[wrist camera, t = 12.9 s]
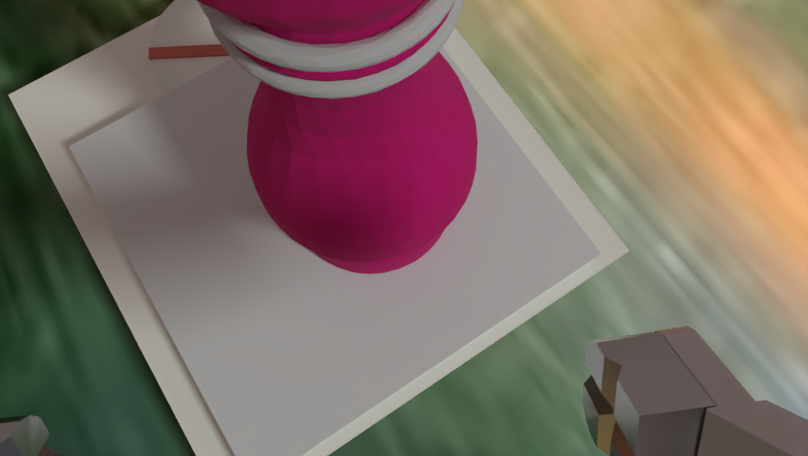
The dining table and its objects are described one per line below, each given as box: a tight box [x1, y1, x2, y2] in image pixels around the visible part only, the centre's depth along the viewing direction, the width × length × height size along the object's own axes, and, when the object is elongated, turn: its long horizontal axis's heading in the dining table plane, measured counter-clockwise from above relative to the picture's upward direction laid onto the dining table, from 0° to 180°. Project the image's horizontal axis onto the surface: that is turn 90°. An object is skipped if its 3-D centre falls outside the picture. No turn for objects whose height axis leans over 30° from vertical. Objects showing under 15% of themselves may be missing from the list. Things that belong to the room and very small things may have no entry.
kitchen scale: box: [8, 0, 629, 456], centre depth 26 cm, size 20×18×4 cm
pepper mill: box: [197, 0, 478, 274], centre depth 14 cm, size 7×7×20 cm
